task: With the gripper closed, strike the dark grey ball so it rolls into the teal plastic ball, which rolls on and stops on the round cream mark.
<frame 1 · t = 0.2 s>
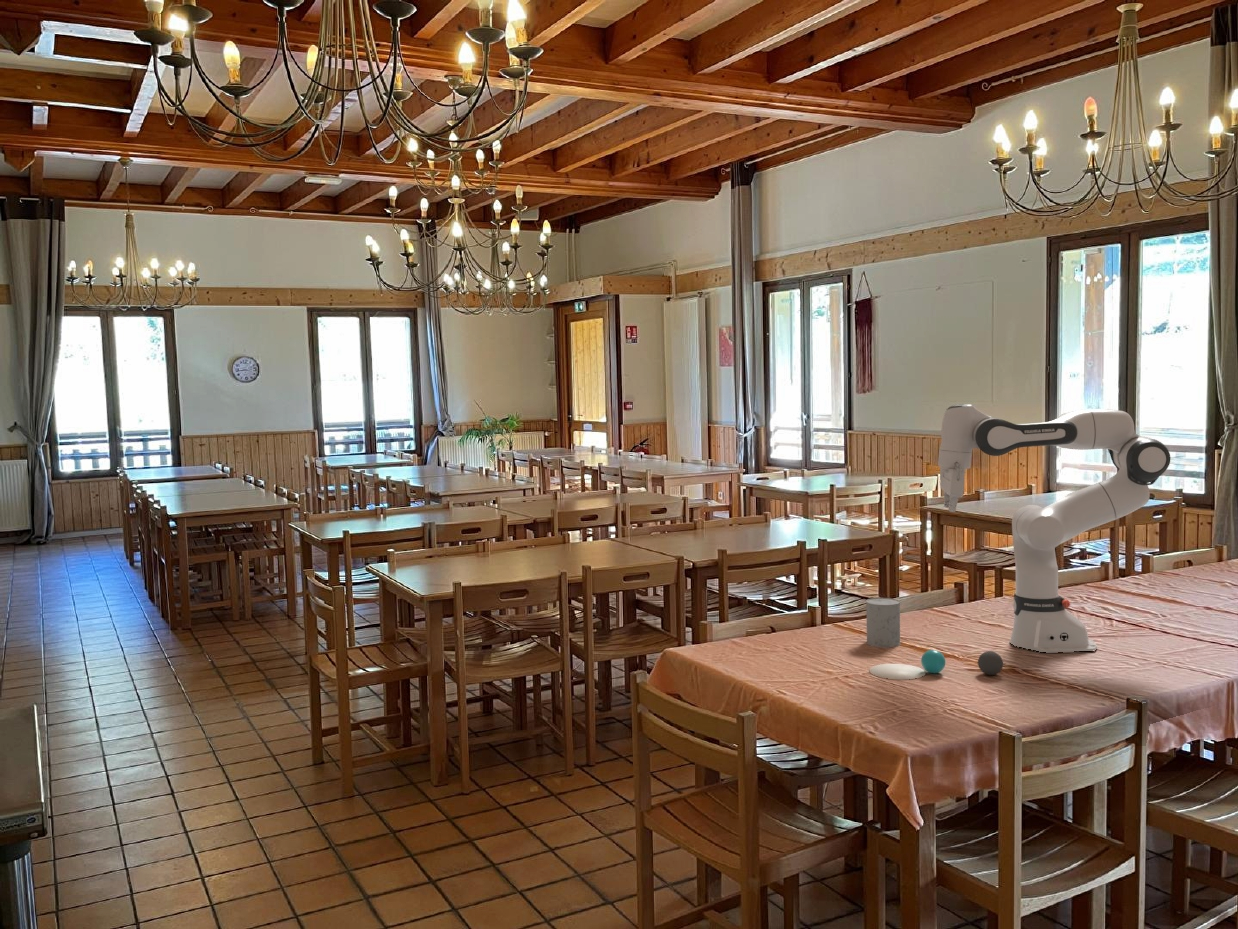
hand: (949, 509, 284), 39 cm above the table, tool pointing down, fingers open, 8 cm apart
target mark: (897, 672, 260), on the table
grey speckled stone cylinder: (883, 644, 289), on the table
dark grey ball: (990, 663, 255), on the table
object ball: (933, 661, 258), on the table
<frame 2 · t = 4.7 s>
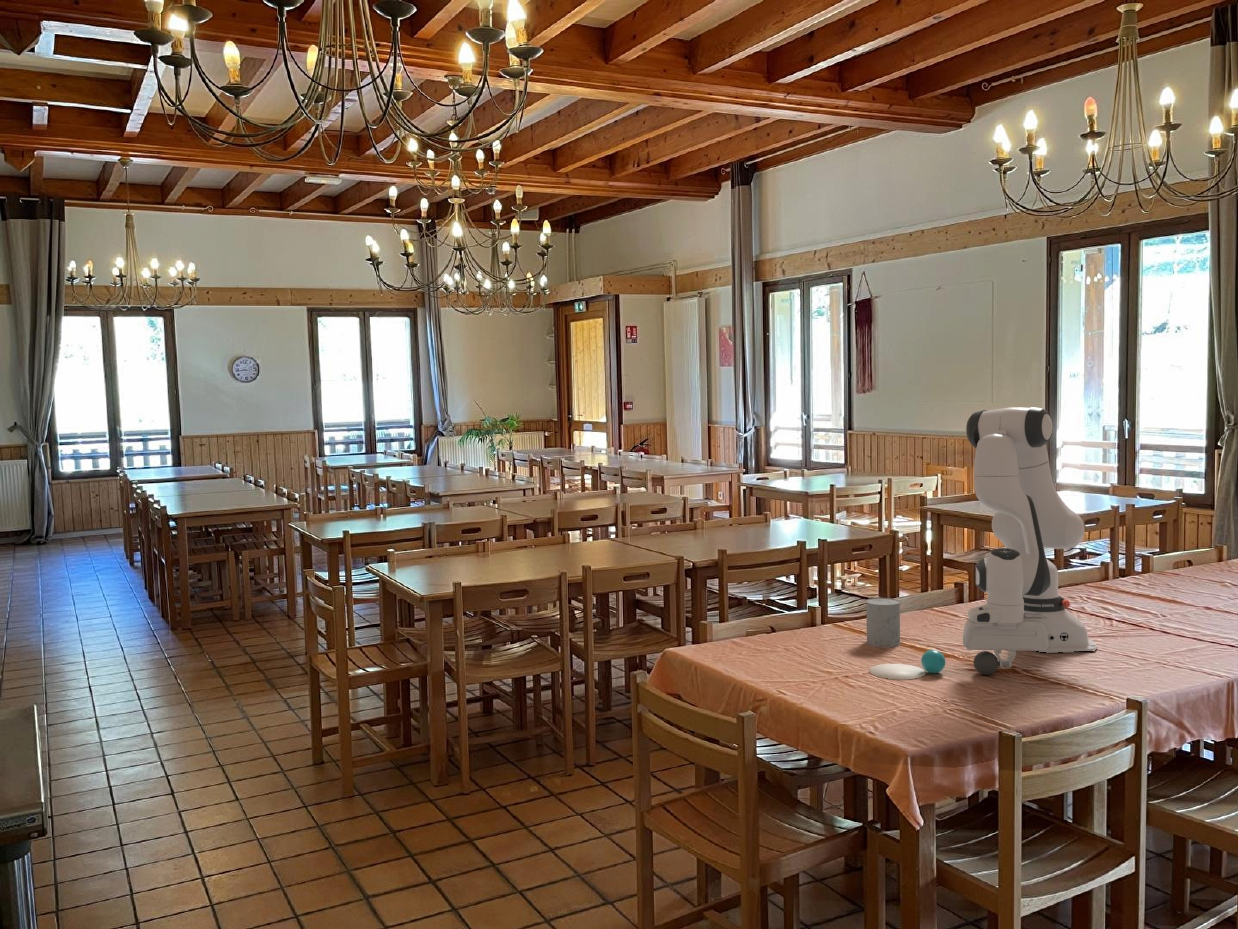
hand: (1004, 667, 254), 2 cm above the table, tool pointing down, fingers closed
dark grey ball: (986, 663, 256), on the table, touching gripper
everything else where it was.
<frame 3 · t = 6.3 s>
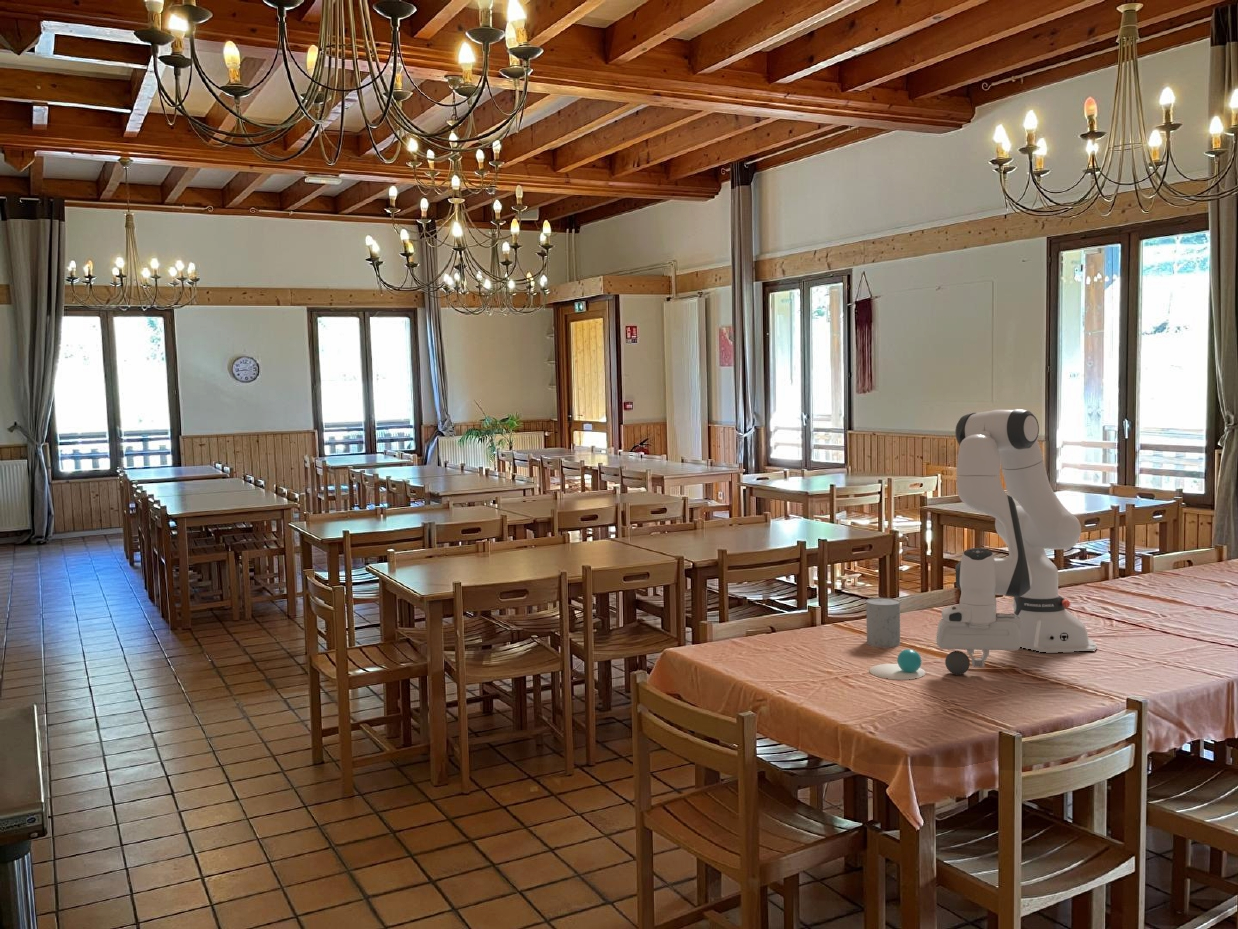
hand: (978, 666, 256), 2 cm above the table, tool pointing down, fingers closed
dark grey ball: (957, 662, 257), on the table
object ball: (909, 661, 260), on the table
everything else where it was.
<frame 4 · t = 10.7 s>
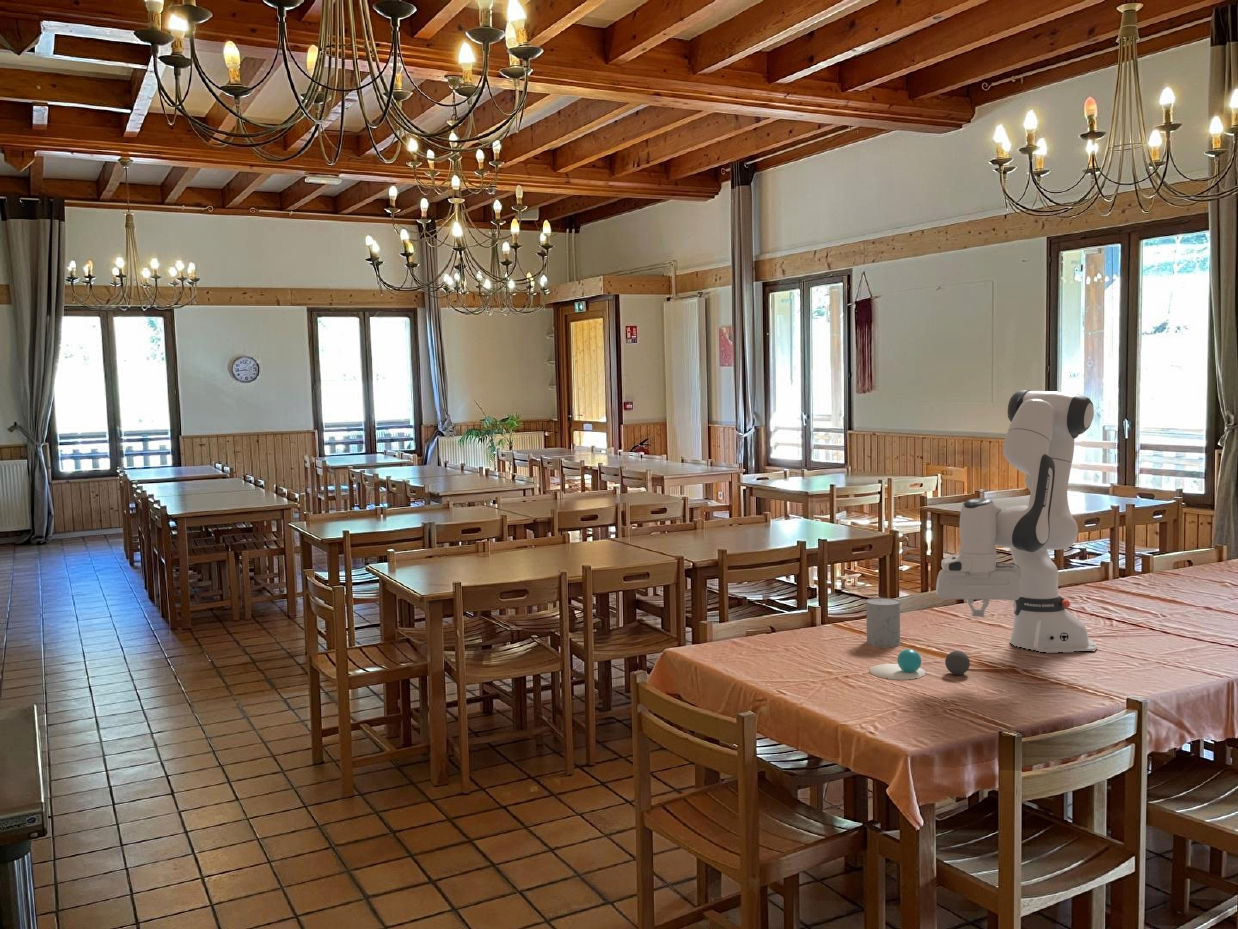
hand: (977, 616, 255), 15 cm above the table, tool pointing down, fingers closed
nothing on the table moved.
at the end: object ball 3.0 cm from the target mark (horizontally); object ball never touched the robot; dark grey ball first touched object ball at 5.0 s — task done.
